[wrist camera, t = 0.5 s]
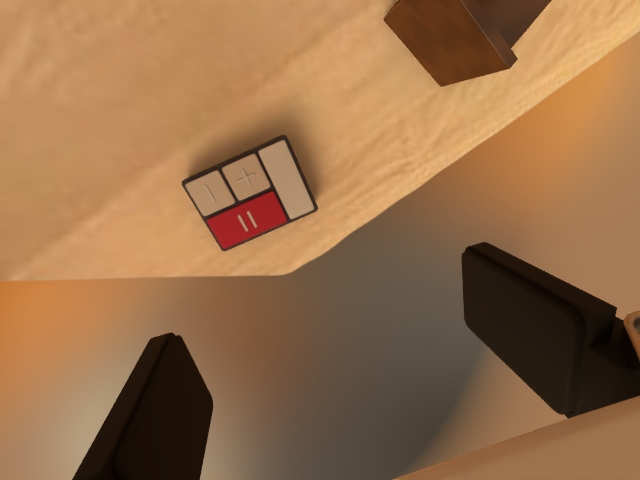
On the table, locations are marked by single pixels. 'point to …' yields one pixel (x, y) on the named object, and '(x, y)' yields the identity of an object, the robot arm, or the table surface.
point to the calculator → (251, 193)
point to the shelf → (463, 34)
